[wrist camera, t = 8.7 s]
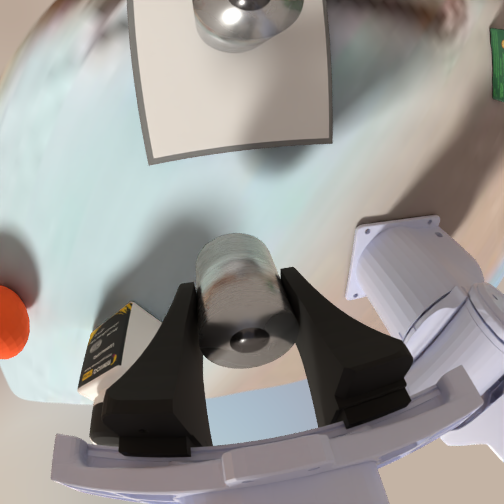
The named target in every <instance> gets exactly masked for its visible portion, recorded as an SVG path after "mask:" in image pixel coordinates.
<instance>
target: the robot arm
mask: <svg viewBox="0 0 504 504" xmlns="http://www.w3.org/2000/svg"><path fill="white" fill-rule="evenodd" d="M428 221H429V222H428ZM439 223H440V217H439V216H438V215H431V216H423V217H415V218H408V219H400V220H393V221H385V222H378V223H370V224H363V225H359V226H358V227H357V228H356V230H355V237H354V244H353V251H352V258H351V264H350V270H349V276H348V282H347V288H346V293H345V297H346V299H347V300H353V299H357V298H361V297H366V296H367V298H368V299H369V301H370V302H371V304H372V305H373V307H374V309H375V310H376V312H377V313H378V315H379V317H380V318H381V320H382V322H383V323H384V325H385V327H386V328H387V330H388V331H389V333H390V335H391V336H388V335H386V334H383V333H381V332H379V331H376V330H374V329H372V328H370V327H368V326H366V325H364V324H362V323H361V322H359V321H357V320H355V319H353V318H352V317H350V316H349V315H347V314H346V313H344V312H343V311H341V310H340V309H338V308H337V307H336V306H335V305H333V304H332V303H331V302H330V301H328V300H327V299H326V298H325V297H324V296H322V295H321V294H320V293H319V292H318V291H317V290H316V289H315V288H314V287H313V286H312V285H311V284H310V283H309V282H308V281H307V280H306V279H305V278H304V277H303V276H302V275H301V274H300V273H299V272H298V271H297V270H296V269H295V268H294V267H289V268H283V269H281V282H282V284H283V287H284V290H285V292H286V295H287V297H288V300H289V302H290V305H291V307H292V310H293V312H294V315H295V318H296V320H297V323H298V326H299V333H298V337H297V340H296V342H295V343H296V345H297V348H298V350H299V353H300V356H301V359H302V362H303V365H304V369H305V372H306V376H307V380H308V384H309V388H310V392H311V396H312V400H313V404H314V409H315V414H316V419H317V423H318V428H315V429H311V430H307V431H304V432H299V433H294V434H290V435H285V436H280V437H275V438H270V439H264V440H258V441H251V442H244V443H237V444H229V445H219V446H213V445H212V439H211V434H210V428H209V422H208V415H207V409H206V400H205V392H204V383H203V353H202V352H201V350H200V347H199V335H198V316H197V293H196V290H195V286H194V282H191V283H184V284H180V286H179V288H178V290H177V293H176V295H175V298H174V300H173V302H172V304H171V306H170V308H169V311H168V313H167V315H166V317H165V319H164V320H163V322H162V324H161V326H160V327H159V329H158V331H157V333H156V334H155V336H154V337H153V339H152V340H151V342H150V343H149V345H148V346H147V348H146V349H145V350H144V352H143V353H142V354H141V356H140V357H139V358H138V359H137V360H136V362H135V363H134V364H133V365H132V366H131V367H130V368H129V369H128V370H127V371H126V372H125V373H124V374H123V375H122V376H121V377H120V378H119V379H118V380H117V381H116V382H115V383H114V384H112V385H111V386H110V387H109V388H108V389H106V392H105V396H104V400H103V406H102V414H101V420H102V422H103V423H104V424H105V425H106V426H107V427H108V428H109V429H111V430H112V431H113V432H114V433H116V434H117V435H118V436H119V447H114V446H103V445H93V444H87V443H86V442H85V441H84V440H82V439H80V438H78V437H74V436H69V435H63V434H56V438H55V444H54V452H53V460H52V470H51V480H53V481H55V482H57V483H59V484H62V485H64V486H67V487H69V488H72V489H75V490H77V491H80V492H83V493H88V494H92V495H97V496H102V497H107V498H113V499H118V500H125V501H131V502H139V503H148V504H389V501H388V498H387V495H386V492H385V489H384V487H383V483H382V481H381V478H380V475H379V472H378V468H381V467H383V466H385V465H387V464H390V463H392V462H394V461H396V460H398V459H400V458H402V457H404V456H406V455H408V454H410V453H412V452H414V451H416V450H418V449H420V448H422V447H423V446H425V445H427V444H429V443H430V442H432V441H434V440H436V439H437V438H441V439H442V440H443V441H444V442H445V443H446V444H447V445H449V446H463V445H475V444H487V445H488V446H489V447H490V448H491V449H492V450H493V451H494V453H495V454H496V455H497V456H498V457H499V458H500V459H501V460H502V461H503V463H504V294H503V293H501V292H500V291H499V290H498V289H497V288H495V287H494V286H492V285H491V284H489V283H486V282H484V277H483V274H482V271H481V268H480V266H479V264H478V263H477V261H476V260H475V259H474V258H473V257H472V256H471V255H470V254H469V253H468V252H467V251H466V250H465V249H464V248H463V247H461V246H460V245H459V244H458V243H457V242H456V241H455V240H454V239H453V238H452V237H450V236H449V235H448V234H447V233H446V232H445V231H444V230H442V229H441V228H440V227H439ZM367 229H368V230H367ZM366 230H367V231H366ZM365 231H366V232H365Z"/></svg>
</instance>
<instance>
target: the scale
mask: <svg viewBox="0 0 504 504" xmlns="http://www.w3.org/2000/svg"><path fill="white" fill-rule="evenodd" d="M127 14H128V28H129V40H130V50H131V59H132V68H133V76H134V83H135V90H136V97H137V104H138V110H139V116H140V122H141V128H142V133H143V139H144V144H145V149H146V154H147V159H148V164H149V165H154V164H159V163H164V162H169V161H175V160H180V159H186V158H192V157H198V156H205V155H211V154H218V153H226V152H233V151H242V150H250V149H260V148H270V147H282V146H295V145H311V144H332V136H333V114H332V73H331V53H330V38H329V26H328V15H327V5H326V0H304V4H303V8H302V11H301V13H300V15H299V17H298V18H297V20H296V21H295V22H294V23H293V24H292V25H291V26H290V27H289V28H287V29H286V30H284V31H283V32H281V33H279V34H278V35H276V36H274V37H273V38H271V39H269V40H268V41H266V42H264V43H263V44H261V45H260V46H258V47H256V48H255V49H252V50H250V51H247V52H242V53H226V52H221V51H218V50H216V49H214V48H212V47H210V46H209V45H207V44H206V43H205V42H204V41H203V40H202V39H201V37H200V36H199V34H198V32H197V29H196V25H195V18H194V11H193V4H192V0H127Z"/></svg>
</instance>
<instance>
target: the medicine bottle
mask: <svg viewBox="0 0 504 504" xmlns="http://www.w3.org/2000/svg"><path fill="white" fill-rule="evenodd" d="M161 324H162V322H160V321H159V320H158V319H156V318H155V317H153V316H152V315H151V314H149V313H148V312H147V311H145V310H144V309H143V308H141V307H140V306H138V305H137V304H136V303H134V302H129V303H128V304H127V305H125V306H124V307H123V308H121V309H120V310H119V311H118V312H116V313H115V314H114V315H113V316H111V317H110V318H109V319H108V320H106V321H105V322H104V323H103V324H101V325H100V326H99V327H98V328H96V329H95V330H94V331H93V332H92V333H91V335H90V339H89V343H88V346H87V350H86V354H85V358H84V362H83V366H82V371H81V375H80V380H79V384H78V392H79V394H81V395H83V396H85V397H87V398H89V399H90V400H92V401H94V404H93V411H92V419H91V427H90V436H89V437H90V439H91V441H92V442H93V444H94V445H103V446H114V447H119V436H118V435H117V434H116V433H114V432H113V431H112V430H111V429H109V428H108V427H107V426H106V425H105V424H104V423H103V422H102V420H101V414H102V406H103V400H104V396H105V392H106V389H108V388H109V387H110V386H111V385H112V384H114V383H115V382H116V381H117V380H118V379H119V378H120V377H121V376H122V375H123V374H124V373H125V372H126V371H127V370H128V369H129V368H130V367H131V366H132V365H133V364H134V363H135V362H136V360H137V359H138V358H139V357H140V356H141V354H142V353H143V352H144V350H145V349H146V348H147V346H148V345H149V343H150V342H151V340H152V339H153V337H154V336H155V334H156V333H157V331H158V329H159V327H160V326H161Z"/></svg>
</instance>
